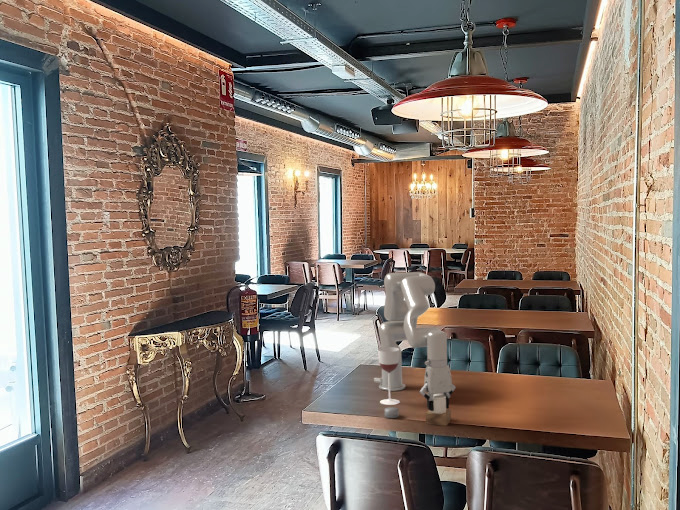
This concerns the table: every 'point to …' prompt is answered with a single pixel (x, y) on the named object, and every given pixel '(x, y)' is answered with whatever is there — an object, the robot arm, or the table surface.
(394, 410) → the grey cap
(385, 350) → the wineglass
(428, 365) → the robot arm
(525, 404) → the table surface
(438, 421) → the post base
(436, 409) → the cream cap
